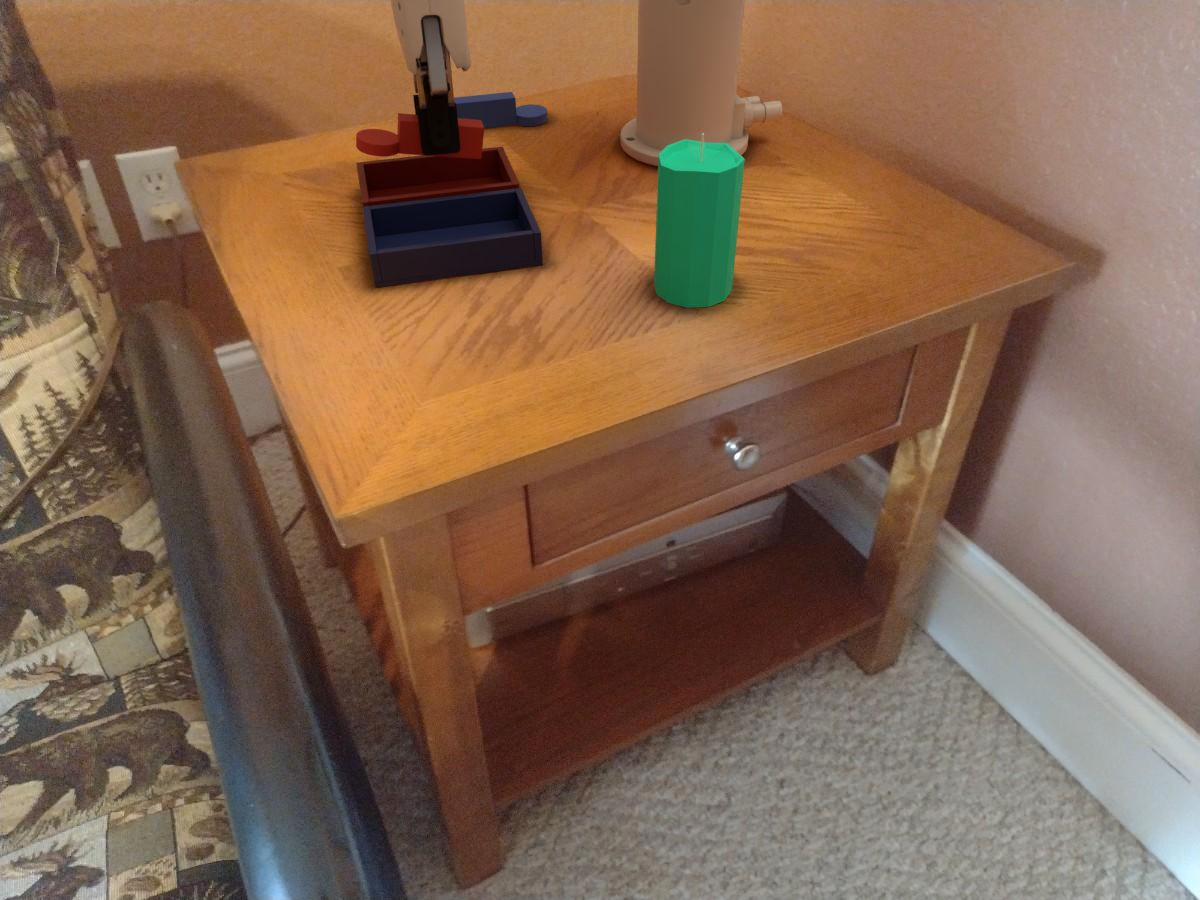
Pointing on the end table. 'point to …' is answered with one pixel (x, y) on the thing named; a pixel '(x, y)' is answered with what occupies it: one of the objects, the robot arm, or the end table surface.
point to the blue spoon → (499, 110)
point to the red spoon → (410, 143)
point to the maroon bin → (433, 177)
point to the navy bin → (451, 237)
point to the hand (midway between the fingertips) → (439, 145)
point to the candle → (697, 222)
